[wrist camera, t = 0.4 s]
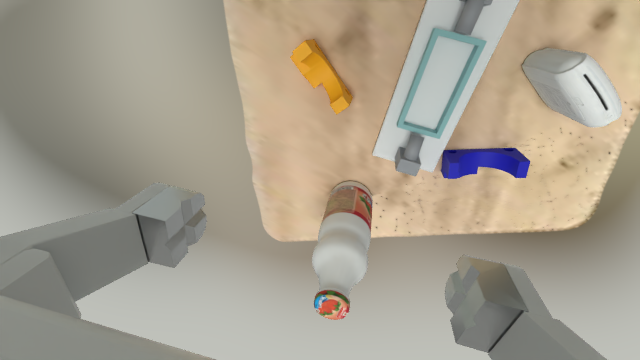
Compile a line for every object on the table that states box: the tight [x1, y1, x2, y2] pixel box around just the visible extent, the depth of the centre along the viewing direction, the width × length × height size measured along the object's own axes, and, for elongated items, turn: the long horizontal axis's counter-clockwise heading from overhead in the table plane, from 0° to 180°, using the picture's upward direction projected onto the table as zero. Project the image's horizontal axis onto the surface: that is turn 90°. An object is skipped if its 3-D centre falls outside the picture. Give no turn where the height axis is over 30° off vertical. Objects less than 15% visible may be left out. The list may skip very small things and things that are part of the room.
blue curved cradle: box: [441, 148, 530, 179], centre depth 49 cm, size 12×4×6 cm, turn 97°
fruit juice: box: [312, 181, 372, 320], centre depth 49 cm, size 9×9×28 cm
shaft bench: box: [372, 0, 520, 176], centre depth 43 cm, size 30×12×7 cm, turn 167°
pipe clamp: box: [290, 39, 353, 114], centre depth 47 cm, size 12×4×6 cm, turn 37°
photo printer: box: [522, 48, 622, 127], centre depth 38 cm, size 10×4×12 cm, turn 45°
